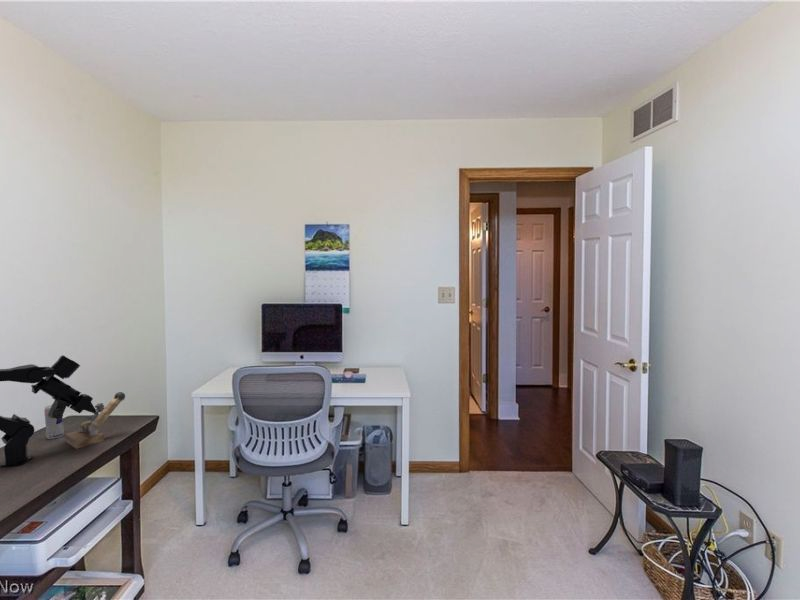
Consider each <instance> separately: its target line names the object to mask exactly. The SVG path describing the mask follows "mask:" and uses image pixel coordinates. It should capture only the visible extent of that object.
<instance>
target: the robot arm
mask: <svg viewBox="0 0 800 600" xmlns="http://www.w3.org/2000/svg"><path fill="white" fill-rule="evenodd" d="M80 367H81V365H80V364H79V363H78V362H76V361H74V360H73V359H70V358H69V357H67V356H65V355H61V356H60V357H59V358H58V359H57V360H56V361H55V362H54V364H52V365H51V366H38V365H36V364H32V363H31V364H30V363H29V364H25V365H19V366H15V367H10V368H0V382H16V383H23V384H31V385H30V386H31V392H32V393H33V394H35V395H36V394H38V393H39V392H40V391H42V392H44V393H45V394H47V395H49V396H50V397H51V399H53V400H54V401H53V403H52V404H51V405H52V406H51V409H50V411H49V413H48V416H49V417H51V418H56V419H62V417H64V413H65V410H67V409H66V408H69V409H71V410H72V411H74V412H76V413H78V414H81V413H82V412H83V411H85V412H89V413H92V414H94V413H95V412H96V409H97V408H95V405H93V403H92V401H93V397H92V396H91V395H89V394H86V393H82V392H81V391H79V390H77V389H75V388H73V387H72V386H71V385H69V384H67V383H65V382H64V381H63V380H64V379H69V378H70V377H72V375H73V374H74V373H75V372H76V371H77V370H78V369H79V368H80ZM57 377H59V378H57ZM61 379H62V380H61ZM0 431H1V432H2V433H4V435H3V436H2V437H1V438H0V439H1V441H2V443H3V444H5V445H4V447H3V449H4V450H3V451H4V460H5V461H4V462H3V463H2V464H0V466H3V467H12V466H21V465H23V464H26V463H27V462H28V461H30V460H31V459H32V458H34V456H33V455H28V454H29V453H28V452H29V451H28V442H29V440H30V438H31V437H32V436H34V433H35V427H34V425H32V424H31V421H30V420H29V419H27V417H21V416H19V415H17V414H15V413H14V414H12V416H11V417H8V416H7V417H6V416H2V415H0Z"/></svg>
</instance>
